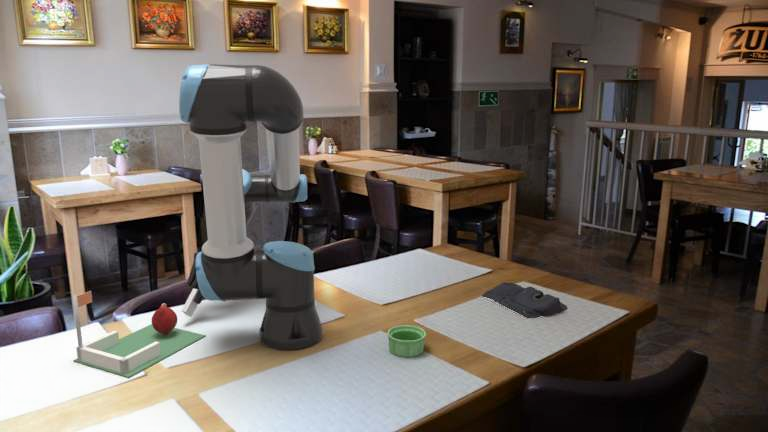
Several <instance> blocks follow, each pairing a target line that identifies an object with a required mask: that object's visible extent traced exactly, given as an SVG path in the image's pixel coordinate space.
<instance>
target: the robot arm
mask: <svg viewBox="0 0 768 432" xmlns="http://www.w3.org/2000/svg"><path fill="white" fill-rule="evenodd" d="M178 103H179V105H178V107H179V108H178V109H179V110H178V111H179V118H180V120H181V121H182V123H183V122H184V123H185V124H188V123H189V131H190V133H191V134H192V135H194V136H195V137H196V138H197V139H198V145H199V146H198V147H199V155H200V156H199V157H200V167H201V178H202V189H203V201H204V212H205V222H206V232H207V234H206V235H207V240H206V241H205V242H204V243H203V244H202V247H201V251H200V252H199V251H198V252H194V254H193V262H192V265H191V267H190V268H191V269H190V272H189V275H188V278H187V282H186V284H187V286H189V287H190V290H189V292H188V294H187V296H186V299H185V300H186V301H185V304H184V306H183V307H182V309H181V312H182V313H184V315H186V316H188V317H192V316H193V315H194V313H195V312H196V310H197V308H198V306H199V305H200V304H201V303H202V301H203V299H206V300H207V301H211V302H227V301H246V300H248V301H249V300H263V299H264V300H265V312H264V315H263V318H262V321H261V324H260V328H259V341H260V342H261V344H262V345H263V346H265V347H268V348H270V349H274V350H281V351H294V350H300V349H304V348H308V347H311V346H313V345H315V344H317V343H319V342H320V341H321V340H322V338H323V324H322V322H321V320H320V318H319V317H320V316H319V314H318V311H317V308H316V305H315V274H314V273H315V269H316V267H315V261H314V253H313V251H312V250H311V249H310V248H309V247H308V246H306V245H304V244H301V243H298V242H295V241H285V240H284V241H283V240H281V241H280V240H276V241H269V242H266V243H265V244H264V245H263V247H262V249H255V247H254V246H255V245H254V242H253V241H252V240H251V239H250V238H249V237H247V227H248V225H249V223H250V221H251V219H252V217H253V215H254V213H255V211H256V210H257V208H258V206H259V204H261V203H262V204H263V203H265V204H266V203H269V204H270V203H292V204H294V203H297V202H299V203H300V202H301V203H302V202H305V201H306V200H308V178H307V175H306V174H304V173H303V174H302V173H301V171H300V170H301V163H300V160H301V159H300V127H301V126H302V124H303V122H304V106H303V102H302V99H301V97H300V94H299V93H298V91H297V89H296V88H295V86H294V85H293V84H292V82H290V81H289V80H288V79H287V78H286V77H285V76H284V75H283V74H282V73H280V72H279V71H277V70H275V69H273V68H271V67H269V66H265V65H261V64H252V65H251V64H250V65H249V64H248V65H247V64H239V65H238V64H217V63H215V64H214V63H213V64H212V63H211V64H210V63H207V64H206V63H205V64H193V65H189V66H187V67H186V68H185V69H184V71H183V74H182V77H181V81H180V88H179V101H178ZM256 122H257V123H258V122H259V123H260V124H261V126H262V127H263V128H264V129H265V135H266V144H267V156H268V165H269V174H251V173H249V172H248V171H247V169H246V170H245V169H243V163H242V162H243V160H242V147H241V146H242V145H241V137H242V136H243V135H244V134H245V132H247V130H248V127H247V124H248V123H256Z"/></svg>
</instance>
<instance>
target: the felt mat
mask: <svg viewBox="0 0 768 432" xmlns="http://www.w3.org/2000/svg"><path fill="white" fill-rule="evenodd" d="M203 338H206V334H202V333H197V332H193V331H189V330H186V329H181V328H177V327H175V328H174V329H173V330H171V331H170V332H169V333H168V334H167V335H164V334H161V333H159V332H157V331H156V330H155V329H154V328H153V326H152V323H150V324H149V325H147V326H145V327H142V328H140V329H137V330H136V331H134V332H132V333H129V334H128V335H125V336H122V337H121V338H119V344H117V345H115V346H113V347H111V348H109V349H107V350H104V351H103V352H106V353H110V354H113V355H117V356H120V357H126V356H128V355H130V354H132V353H134V352H136V351H138V350H140V349H142V348H144V347H146V346H148V345H150V344H152V343H154V342H160V351H161V355H159V356H157V357H156V358H154V359H152V360H150V361H148V362H146V363H144V364H142V365H140V366H139V367H137V368H135V369H133V370H131V371H129V372H127V373H125V374H123V373H119V372H116V371H113V370H109V369H106V368H103V367H99V366H96V365H93V364H89V363H86V362H83V361H79V360H78V357H77V358H75V359H73V362H74V363H77V364H80V365H83V366H87V367H90V368H94V369H97V370H100V371H104V372H107V373H111V374H114V375H116V376H120V377H123V378H126V379H130V378H132V377H134V376H135V375H137V374H139V373H141V372H143V371H144V370H145V371H146V370H148V369H149V368H150V367H153V366H154V365H156V364H157V363H159V362H161V361H164V360H165V359H167V358H169V357H171V356H172V355H174V354H176V353H177V352H179V351H181V350H183V349H186V348H187V347H188V346H191V345H193V344H194V343H196V342H198V341H200V340H201V339H203Z"/></svg>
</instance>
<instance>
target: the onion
mask: <svg viewBox="0 0 768 432" xmlns="http://www.w3.org/2000/svg"><path fill="white" fill-rule="evenodd" d="M177 323H178V315H177V313H176V312H175V311H174V309H172V308H170V307H168V306H167V303H165V302H164V303H162V304H161V305H160V307H159V308H158V309H156V310H155V312H154V313H153V315H152V317H151V324H152V326H153V328H154V329H155V330H156V331H157V332H159V333H161V334H164V335H167V334H168V333H169V332H170V331H171V330H173V329H174V328H176V327H177Z"/></svg>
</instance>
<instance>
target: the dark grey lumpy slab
mask: <svg viewBox="0 0 768 432" xmlns="http://www.w3.org/2000/svg"><path fill="white" fill-rule="evenodd" d="M481 296H482V297H483V296H484V297H487V298H490V299H493V300H494V301H495V302H498V303H499V304H501V305H503V306H505V307H507V308H509V309H511V310H513V311H515V312H517V313H519V314H521V315H523V316H524V317H523V316H522V317H523V318H525V317H527V318H526V319H530V318H529V317H532V318H531V319H534V318H537V317H540V316H544V317H550V316H549V315H551V316H553V314H554V315H557V314H556V313H558V314H560V313H562V311H565V310H567V309H568V306H567V305H566V304H564V303H562V302H561V300H560V297H556V296H554V295H551V294H550V293H547V294H544V292H543V291H542V290H540V289H537V288H535V287H533V286H527V287H523V286H521V285H520V284H518V283H517V284H516V283H514V282H506V281H504V282H502V283H500V284H498V285H495V286H494V287H492V288H490V289H489V290H487V291H485V292H484V293H483V294H481ZM484 297H483V298H484ZM560 311H561V312H560ZM515 312H514V313H515ZM559 312H560V313H559ZM517 313H516V314H517ZM519 314H518V315H519ZM521 315H520V316H521ZM540 318H541V317H540ZM537 319H538V318H537Z"/></svg>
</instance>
